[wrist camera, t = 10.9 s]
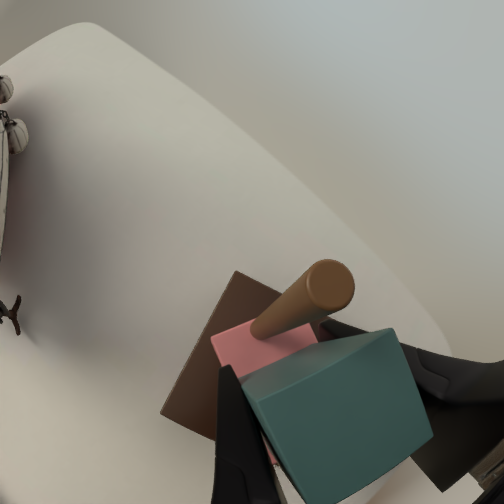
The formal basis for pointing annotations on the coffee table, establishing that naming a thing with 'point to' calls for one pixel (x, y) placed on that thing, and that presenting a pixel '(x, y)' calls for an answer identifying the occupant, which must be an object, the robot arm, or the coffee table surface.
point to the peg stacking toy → (325, 390)
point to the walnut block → (205, 358)
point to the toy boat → (4, 143)
